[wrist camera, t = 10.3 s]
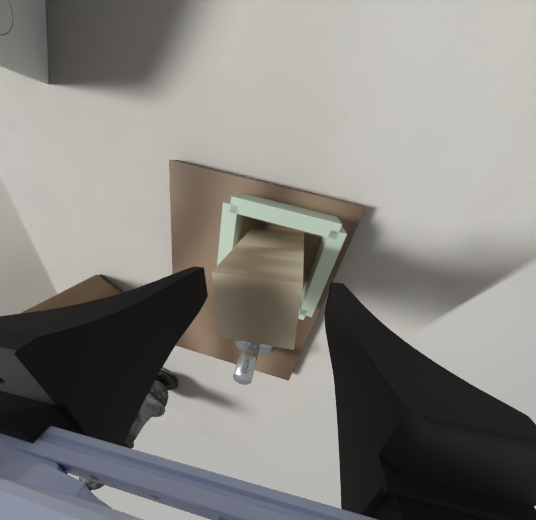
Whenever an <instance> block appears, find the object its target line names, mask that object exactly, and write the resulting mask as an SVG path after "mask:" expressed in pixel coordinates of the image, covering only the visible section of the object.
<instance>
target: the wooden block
mask: <svg viewBox="0 0 536 520" xmlns="http://www.w3.org/2000/svg"><path fill="white" fill-rule="evenodd" d="M120 293H123V292H122V291H120V290H119V289H118V288H116V287H115V286H113V285H112V284H111V283H109V282H108V281H107V280H105V279H104V278H103V277H101V276H100V275H95V276H93V277H91V278H89V279H87V280H85V281H83V282H81V283H79V284H77V285H75V286H73V287H71V288H69V289H67V290H65V291H63V292H61V293H59V294H57V295H55V296H53V297H51V298H50V299H48V300H46V301H44V302H42V303H40V304H38V305H36V306H34V307H32V308H30V309H28V310H26V311H24V312H22V313H29V312H36V311H43V310H49V309H55V308H60V307H66V306H71V305H76V304H81V303H85V302H89V301H93V300H98V299H102V298H106V297H110V296H113V295H117V294H120ZM22 313H20V314H22Z"/></svg>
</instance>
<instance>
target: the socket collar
mask: <svg viewBox="0 0 536 520" xmlns="http://www.w3.org/2000/svg"><path fill="white" fill-rule="evenodd" d="M244 216H247V217H251V218H255V219H259V220H263V221H266V222H270V223H274V224H278V225H282V226H286V227H290V228H294V229H297V230H301V231H305V232H309V233H313V234H317V235H321V236H322V239H321V241H320V244H319V247H318V250H317V252H316V255H315V258H314V261H313V263H312V266H311V269H310V272H309V274H308V277H307V280H306V283H305V285H304V288H303V291H302V295H301V302H300V309H299V317H298V319H301V320H304V318H305V316H309V317H312V315H313V313H314V311H315V308H316V306H317V304H318V301H319V299H320V297H321V294H322V292H323V290H324V287H325V285H326V283H327V280H328V278H329V275H330V273H331V271H332V268H333V266H334V264H335V261H336V259H337V257H338V254H339V252H340V250H341V247H342V245H343V243H344V240H345V238H346V236H347V233H346V231H345V230H344V228H343V227H342V223H341V222H340V220H339V219H338V217H336V216H332V215H328V214H324V213H320V212H316V211H312V210H308V209H304V208H300V207H296V206H292V205H288V204H285V203H281V202H277V201H273V200H269V199H265V198H261V197H257V196H253V195H249V194H245V193H239V194H236V195H233V196H231V199H230V200H227V201H225V202H223V207H222V217H221V228H220V238H219V249H218V259H217V266H218V265H219V264H220V262H221V261H222V260H223V259H224V258H225V257H226V256H227V255H228V254H229V253H230V251H231V250H232V249H233V248H234V247H235V246H236V245H237V244H238V243H239V241H240V240H241V235H242V228H243V222H244Z"/></svg>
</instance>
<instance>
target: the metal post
mask: <svg viewBox="0 0 536 520" xmlns="http://www.w3.org/2000/svg"><path fill="white" fill-rule="evenodd" d="M234 340H235V339H234ZM235 343H236V345H237V347H238V348H239V349H240V350H241V351H242V352H241V355H240V358H239V361H238V363H237V366H236V369H235V372H234V375H233V378H234V380H235V381H236V382H238V383H240V384H244V385H247V384H250V383H251V381H252V377H253V373H254V369H255V365H256V361H257V357H258V356H263V355H266V354H268V353H269V352H270V351H271V349H272V346H269V345H263V344H257V343H252V342H246V341H240V340H235Z"/></svg>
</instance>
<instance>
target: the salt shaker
mask: <svg viewBox="0 0 536 520" xmlns="http://www.w3.org/2000/svg"><path fill="white" fill-rule="evenodd" d="M177 386H178V380H177V378H176V377H175V375H174V374H172V373H171V372H170V371H168V370H167V369H165V368H161V370H160V372H159V374H158V376H157V377H156V379H155V381H154V383H153V385H152V387H151V389H150V391H149V392H148V394H147V396H146V398H145V400H144V402H143V404H142V406H141V408H140V410H139V412H138V414H137V416H136V419H135V421H134V423H133V425H132V427H131V429H130V431H129V433H128V436H127V438H126V440H125V442H124V444H123V447H127V448H130V449H131V448H133V446H134V443H133V442H134V440H135V439H136V437H137V435H138V434H139V432H140V430H141V429H142V427H143V426H144V425H145V423H146V422H147V421H148V420H149V419H150V418H151V417H159V416H161V415H163V414H164V412H165V406H166V404H167V400H168V390H172V389H175V388H176V387H177ZM79 481H81V482H83V483H85V485H86V486H87V488H88V489H89V491H91V490H96V489H98V488H101V487H102V486H104V484H101V483H98V482H95V481H91V480H88V479H85V478H82V477H79Z"/></svg>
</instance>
